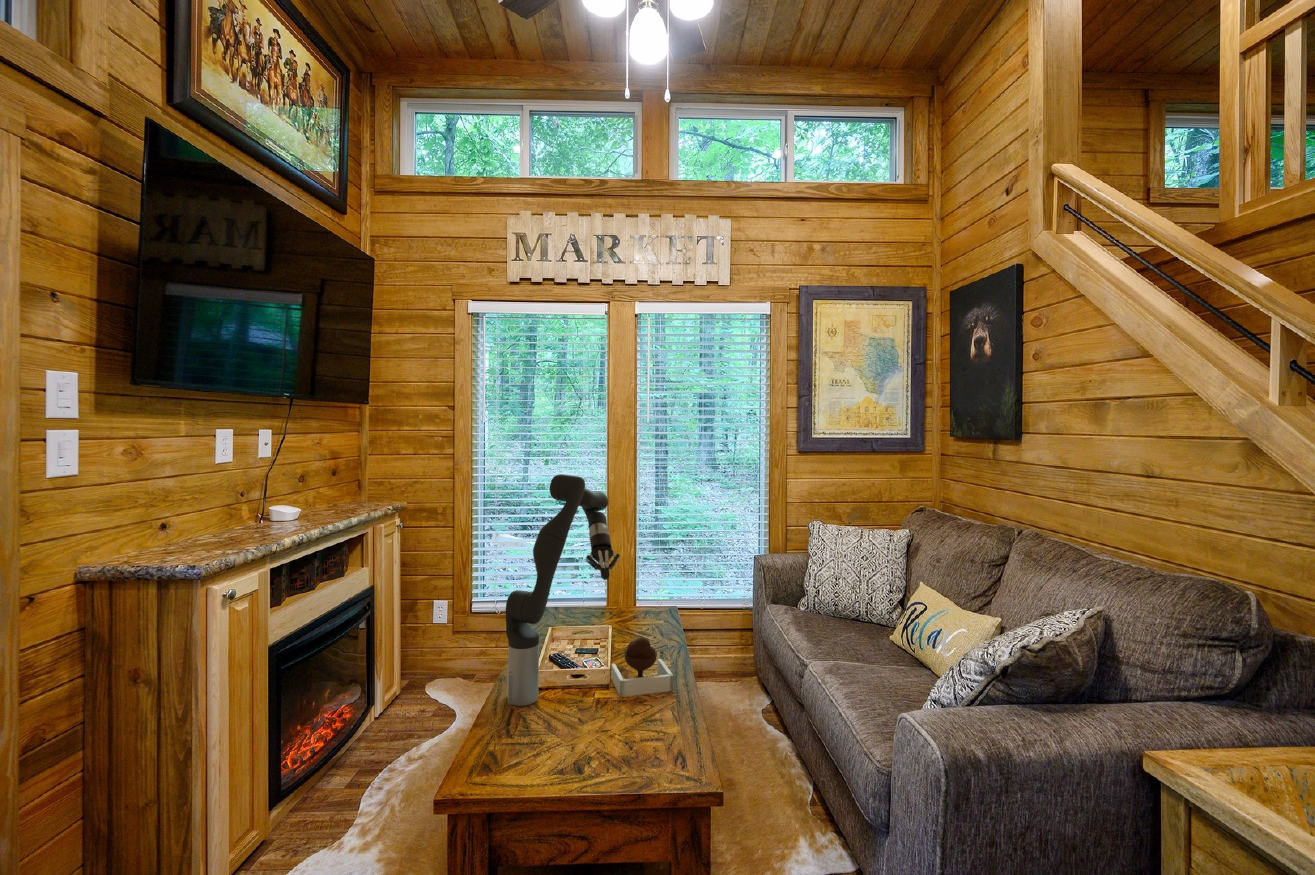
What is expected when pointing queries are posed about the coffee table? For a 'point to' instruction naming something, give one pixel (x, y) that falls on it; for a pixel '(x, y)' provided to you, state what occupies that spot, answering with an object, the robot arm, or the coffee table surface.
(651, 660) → the ice cream bowl
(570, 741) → the coffee table surface
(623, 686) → the corral
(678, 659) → the coffee table surface
